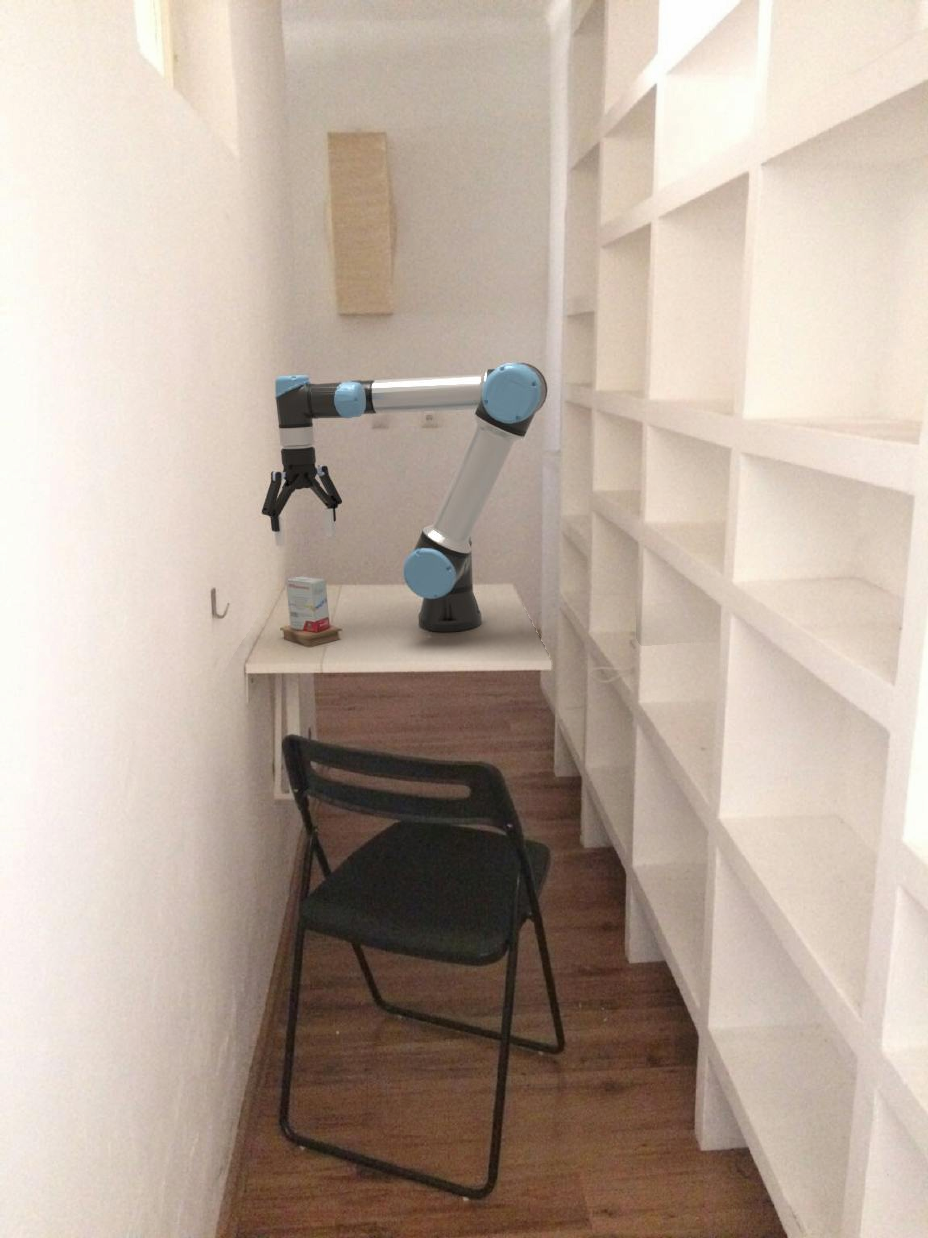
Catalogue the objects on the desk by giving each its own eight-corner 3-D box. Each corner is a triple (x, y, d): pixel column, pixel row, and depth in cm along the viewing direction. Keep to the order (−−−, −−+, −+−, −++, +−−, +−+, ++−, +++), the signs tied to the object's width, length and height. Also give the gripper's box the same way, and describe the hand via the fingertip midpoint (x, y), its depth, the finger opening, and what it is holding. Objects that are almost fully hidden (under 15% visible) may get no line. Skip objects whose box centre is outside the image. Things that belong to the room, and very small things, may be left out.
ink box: (330, 628, 224) (327, 578, 221) (316, 633, 220) (311, 582, 217) (304, 623, 229) (300, 574, 226) (289, 628, 225) (285, 579, 222)
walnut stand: (342, 639, 224) (341, 628, 223) (309, 647, 218) (308, 637, 218) (313, 630, 233) (312, 620, 232) (280, 638, 227) (279, 627, 226)
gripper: (333, 441, 226) (340, 531, 232) (239, 451, 210) (249, 547, 215) (352, 442, 221) (359, 534, 226) (258, 452, 205) (268, 551, 210)
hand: (306, 541), depth 221 cm, fingers open, 13 cm apart
